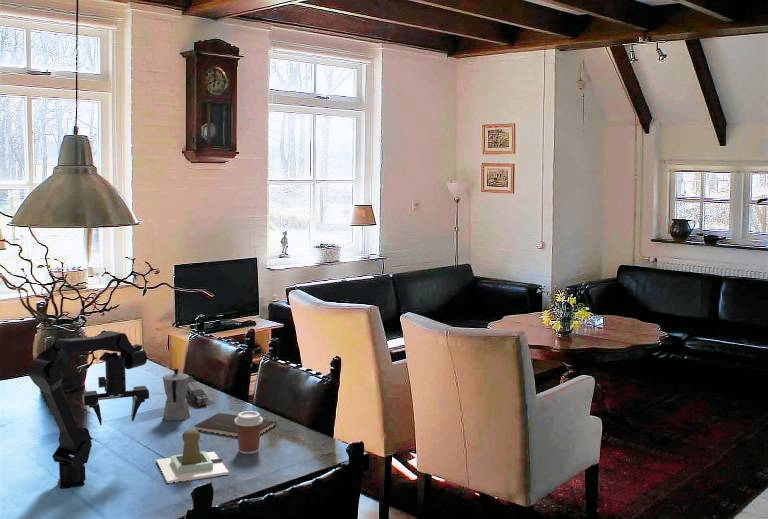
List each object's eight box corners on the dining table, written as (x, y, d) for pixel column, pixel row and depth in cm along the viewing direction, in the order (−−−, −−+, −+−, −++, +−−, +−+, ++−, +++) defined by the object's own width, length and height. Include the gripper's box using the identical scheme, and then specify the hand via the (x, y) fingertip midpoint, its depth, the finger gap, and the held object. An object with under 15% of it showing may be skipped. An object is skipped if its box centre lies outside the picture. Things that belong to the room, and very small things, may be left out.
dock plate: (167, 483, 234) (167, 474, 234) (156, 462, 250) (156, 453, 250) (230, 474, 242) (230, 465, 241) (215, 453, 258) (215, 445, 258)
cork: (184, 461, 249) (184, 426, 247) (204, 462, 248) (203, 427, 247) (178, 469, 243) (178, 433, 241) (198, 469, 242) (197, 434, 241)
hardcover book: (252, 441, 271) (252, 434, 271) (194, 431, 280) (194, 425, 279) (275, 427, 286) (275, 420, 286) (219, 418, 294) (219, 412, 294)
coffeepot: (165, 411, 299) (164, 364, 296) (191, 411, 300) (190, 363, 298) (160, 425, 284) (159, 375, 281) (188, 424, 285) (187, 374, 283)
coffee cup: (231, 447, 264) (231, 411, 262) (259, 443, 268) (259, 408, 266) (238, 457, 256) (237, 420, 254) (266, 453, 259) (266, 417, 258)
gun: (189, 390, 326) (192, 369, 322) (206, 419, 311) (209, 397, 307) (178, 391, 323) (181, 370, 319) (194, 421, 308) (197, 399, 304)
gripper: (143, 363, 256) (144, 411, 258) (80, 369, 248) (81, 418, 250) (149, 372, 246) (149, 422, 248) (83, 378, 238) (85, 429, 240)
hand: (116, 422), depth 246 cm, fingers open, 9 cm apart
